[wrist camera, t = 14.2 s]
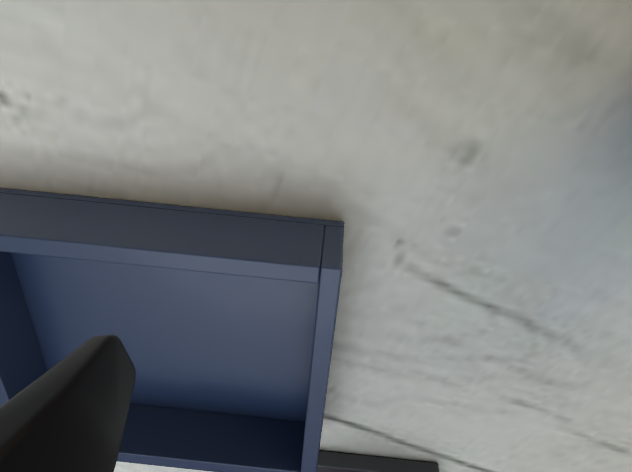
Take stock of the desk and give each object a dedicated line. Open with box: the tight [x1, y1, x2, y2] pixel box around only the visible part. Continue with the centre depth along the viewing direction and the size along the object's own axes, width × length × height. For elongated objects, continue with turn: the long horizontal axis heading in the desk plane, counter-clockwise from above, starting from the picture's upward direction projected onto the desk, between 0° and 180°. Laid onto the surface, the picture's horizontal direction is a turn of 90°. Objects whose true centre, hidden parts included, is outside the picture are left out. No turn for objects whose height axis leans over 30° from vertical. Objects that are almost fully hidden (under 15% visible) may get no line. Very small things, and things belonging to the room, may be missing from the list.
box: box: [0, 188, 344, 472], centre depth 24 cm, size 16×14×3 cm
